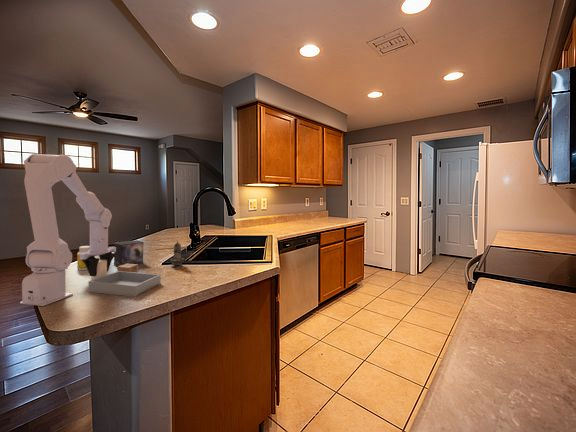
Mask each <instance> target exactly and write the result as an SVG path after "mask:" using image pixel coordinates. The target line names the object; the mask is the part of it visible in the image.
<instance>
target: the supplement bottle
mask: <svg viewBox="0 0 576 432" xmlns="http://www.w3.org/2000/svg"><path fill="white" fill-rule="evenodd" d="M78 250H79V251H78V252H77V254H76V255H77V258H76V259H77V260H76V261H77V262H76V263H77V267H76V268H77V270H79V271H88V269H87V267H86V265H85V264H84V262H83V261H82V259H80V255H79V254H81V253H84V252H87V251H89V250H90V245H81V246H79V248H78Z"/></svg>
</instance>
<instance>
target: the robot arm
mask: <svg viewBox="0 0 576 432" xmlns="http://www.w3.org/2000/svg"><path fill="white" fill-rule="evenodd" d="M23 165H24V170H25V175H24V180H23V181H24V189H25V192H26V193H25V194H26V199H27V204H28V205H27V206H28V210H29V215H30V222H31V227H32V232H33V237H34V239H33V240H34V241H32V242H30V244H28V245H27V246H26V256H25V264H26V265H27V267H28V268H30V269H31V270H30V271H31V272H32V273H31V274H30V275H27V276H25V277H24V278H23V279H22V282H21V295H22V296H21V298H22V300H21V301H20V302H19V304H21V305H30V306H39V307H44V306H47V305H50V304H52V303H54V302H57V301H60V300H63V299H65V298H68V297H71V296H73V295H74V293H73V292H66V291H67V289H66V288H67V287H66V284H67V283H66V270H67V269H68V267H70V265H71V264H72V261H73V253H72V251H71V250H70V249H69V244H68V243H67V242H66V241H65V240H63V239H62V238H60V234H59V228H58V222H57V221H58V220H57V216H56V214H57V213H56V210H55V209H56V208H55V202H54V195H53V190H52V187H53V186H54V185H55V184H56V183H58V182H60V181H62V183H63V184H64V185H65V186H66V187H67V188H69V190H70V191H71V192H72V193H73V194H74V195H75V196H76V198H75V202H76V203H77V204H78V206H79V207H80V208H81V209H82V210H83V214H84V218H85V221H87V222H89V246H90V250H89V251H87V252H84V253H81V254H79V255H80V259H82V261H83V262H84V264H85V265H86V267H87V269H88V270H87V271H88V274H89V276H90V277H91V276H96V274H97V265H98V261H99V259H105V260H107V273H108V272H109V269H110V267H111V264H112V261H113V260H114V256H115V253H114V252H116V247H114V246H109V227H110V225H111V223H110V222H111V220H112V217H113V215H112V212H111V210H110V209H108V208H107V207H104V206H103V204H102V203H101V202H100V199H98V197H97V196H96V194H95V193H94V192H92V191H88V190H87V188H86V186H85V185H84V183H83V182H82V181H81V178H80V177H79V176H78V174H77V173H76V172H77V165H76V164H75V163H74V161H73V160H72V158H71V157H70V156H68V155H66V154H58V155H57V154H41V153H33V154H31V155H29V156H28V157H27V158H25V160H23Z"/></svg>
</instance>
